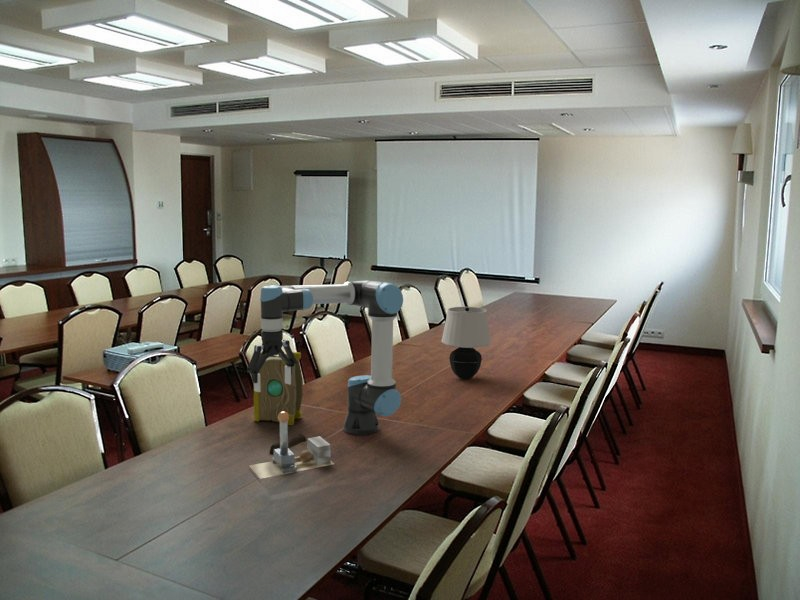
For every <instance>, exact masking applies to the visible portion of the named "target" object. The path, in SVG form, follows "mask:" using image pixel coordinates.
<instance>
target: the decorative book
mask: <svg viewBox="0 0 800 600" xmlns="http://www.w3.org/2000/svg"><path fill="white" fill-rule="evenodd" d="M292 352H293V351H292ZM261 353H262V351H261ZM284 354H285V355H286V356H287V354H286V352H284ZM293 354H294V356H295V359H296V361H297V363H296V364H294V367H292V375H291V384H290V385H289V384H286V383H285V366H287V365H286V364H285V362H284V361H283V360H282V359H281V358H280V356H279V355H273V356H269V358H267V359H266V361H265V363H264V364H263V366H262V368H261V369H260V371H259V374H260V390H261V392H256V391H254V390H253V421H254V422H259V421H268V422H269V421H272V422H276V423H280V421H279V420H278V415H279V413H280V412H283V411H285V412H287V413H288V414H289V420H288V426H294V424H295V419H297V420H298V419H301V418H302V417H303V412H302V411H301V408H302V402H303V396H304V388H303V387H304V386H303V381H304V379H303V373H302V370H301V364H300V359H301V358H302V353H301V352H297V351H294V352H293ZM265 355H266V354H265ZM260 356H261V355H260ZM287 357H288V356H287ZM259 358H260V357H259Z"/></svg>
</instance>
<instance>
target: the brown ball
mask: <svg viewBox="0 0 800 600" xmlns="http://www.w3.org/2000/svg"><path fill="white" fill-rule="evenodd" d="M299 456H300V460H301V461H302V462H307V461H310V460H311V458H312V454H311V453H310V452H309V451H307V449H305V450H303V451H301V452H300V454H299Z"/></svg>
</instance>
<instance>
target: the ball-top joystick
mask: <svg viewBox="0 0 800 600" xmlns="http://www.w3.org/2000/svg"><path fill="white" fill-rule="evenodd" d="M278 420H279V421H280V422H279V442H280V448H278V449H274V453H273V457H271V461H272V462H276V463H277V464H278V465H279V466H280V467H281V468H282V467H285V468H282V472H283V473H286V472H291V471H296V470H297V467H296V466H292V465H295V457H296V456H295V453H294V452H293V451H292V450H291V449H290V448H289V447H288V440H289V436H288V434H289V432H288V431H289V430H288V429H289V427H288V426H289V425H288V420H289V414H288V413H287V412H285V411H283V412H280V413H279V415H278ZM287 466H290V467H287Z"/></svg>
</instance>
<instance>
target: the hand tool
mask: <svg viewBox="0 0 800 600" xmlns="http://www.w3.org/2000/svg"><path fill="white" fill-rule="evenodd" d="M305 442H307V437H306V436H305V435H304V434H302V433H300V434H298V435H297V436H294V437H292V438H288V448H290V447H293V446H295V445H297V444H299V443H305ZM278 448H280V441H278V442H276V443H273V444H272V445H271V446H270V448H269V454H270V455H271V454H274V449H278Z"/></svg>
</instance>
